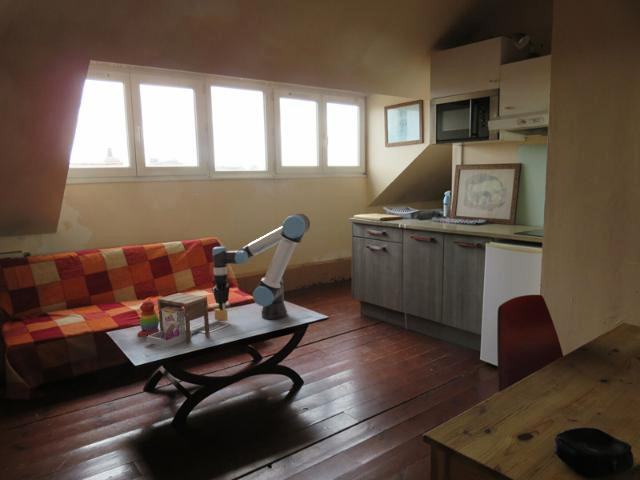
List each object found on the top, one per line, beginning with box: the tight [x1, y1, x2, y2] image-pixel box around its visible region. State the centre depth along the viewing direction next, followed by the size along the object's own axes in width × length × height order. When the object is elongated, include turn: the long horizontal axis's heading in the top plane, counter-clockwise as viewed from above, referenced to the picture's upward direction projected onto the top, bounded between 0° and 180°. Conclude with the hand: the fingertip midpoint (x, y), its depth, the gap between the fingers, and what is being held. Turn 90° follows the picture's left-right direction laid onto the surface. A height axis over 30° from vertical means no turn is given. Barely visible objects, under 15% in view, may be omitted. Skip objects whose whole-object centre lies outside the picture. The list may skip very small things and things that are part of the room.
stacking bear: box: [137, 299, 160, 337], centre depth 242 cm, size 11×10×18 cm
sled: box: [146, 308, 229, 348], centre depth 239 cm, size 15×45×6 cm, turn 148°
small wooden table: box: [157, 292, 211, 345], centre depth 234 cm, size 21×14×20 cm, turn 58°
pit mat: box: [190, 319, 231, 334], centre depth 249 cm, size 16×17×1 cm
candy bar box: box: [161, 306, 186, 340], centre depth 230 cm, size 11×5×16 cm, turn 63°
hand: (222, 314), depth 259 cm, fingers closed
